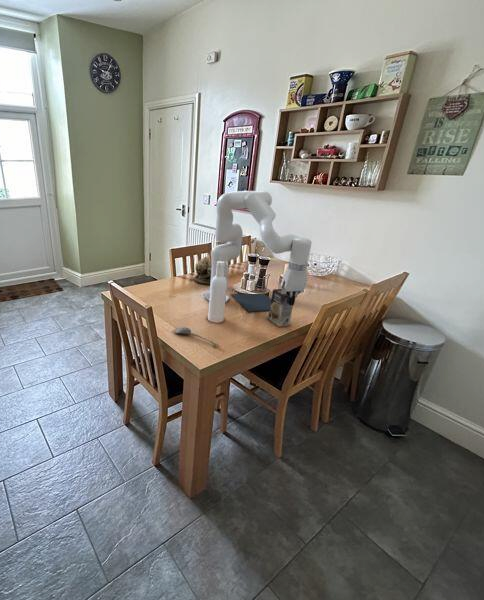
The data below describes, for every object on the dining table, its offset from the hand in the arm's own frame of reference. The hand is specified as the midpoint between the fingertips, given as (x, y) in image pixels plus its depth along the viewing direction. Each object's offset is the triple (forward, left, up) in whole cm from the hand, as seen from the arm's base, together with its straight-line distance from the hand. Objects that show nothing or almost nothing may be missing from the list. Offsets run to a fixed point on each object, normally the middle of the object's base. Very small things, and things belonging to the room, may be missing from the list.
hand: (290, 304), depth 152 cm
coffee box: (0, +7, -13) cm, 15 cm away
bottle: (-30, +15, -13) cm, 36 cm away
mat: (0, +32, -13) cm, 34 cm away
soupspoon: (-45, -2, -13) cm, 47 cm away
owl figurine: (-18, +69, -13) cm, 72 cm away
